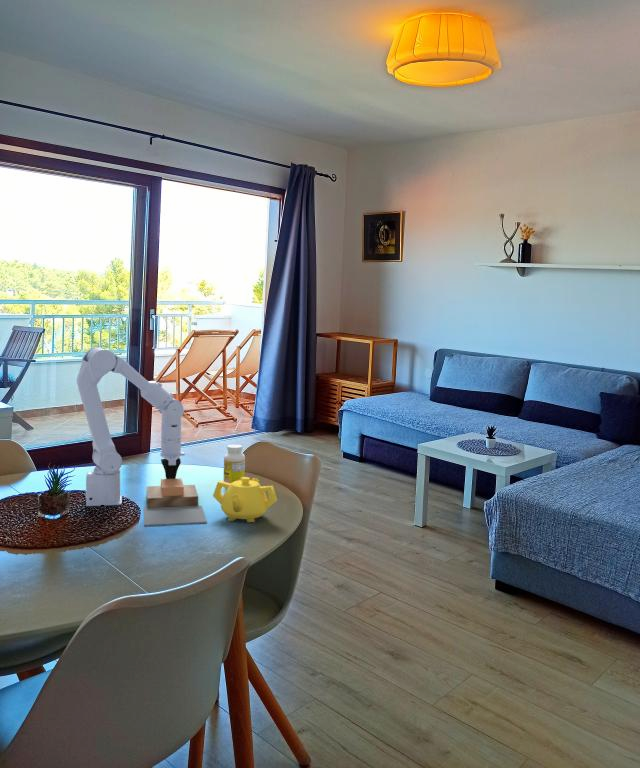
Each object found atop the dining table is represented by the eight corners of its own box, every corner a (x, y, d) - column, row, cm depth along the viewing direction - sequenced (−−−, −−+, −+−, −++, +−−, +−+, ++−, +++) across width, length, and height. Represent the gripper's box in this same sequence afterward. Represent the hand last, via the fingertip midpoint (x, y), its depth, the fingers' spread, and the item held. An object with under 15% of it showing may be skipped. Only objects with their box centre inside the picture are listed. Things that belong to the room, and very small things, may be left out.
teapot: (265, 533, 178) (266, 490, 176) (199, 525, 181) (200, 484, 180) (285, 509, 197) (286, 471, 196) (225, 503, 200) (226, 466, 199)
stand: (147, 508, 193) (147, 498, 193) (146, 496, 205) (146, 486, 204) (198, 506, 197) (198, 496, 196) (194, 494, 208) (194, 484, 208)
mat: (144, 526, 179) (144, 524, 179) (143, 509, 192) (143, 508, 192) (206, 523, 183) (206, 521, 183) (201, 507, 197) (201, 505, 197)
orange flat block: (161, 496, 195) (162, 487, 195) (160, 487, 204) (160, 479, 204) (183, 495, 197) (183, 486, 196) (181, 486, 205) (181, 478, 205)
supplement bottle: (221, 483, 221) (222, 443, 220) (242, 482, 223) (243, 443, 222) (225, 489, 215) (226, 448, 213) (246, 488, 217) (247, 447, 215)
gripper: (186, 443, 199) (186, 489, 201) (183, 433, 213) (182, 476, 215) (161, 444, 197) (161, 490, 199) (159, 433, 211) (159, 476, 213)
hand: (170, 483), depth 207 cm, fingers closed
